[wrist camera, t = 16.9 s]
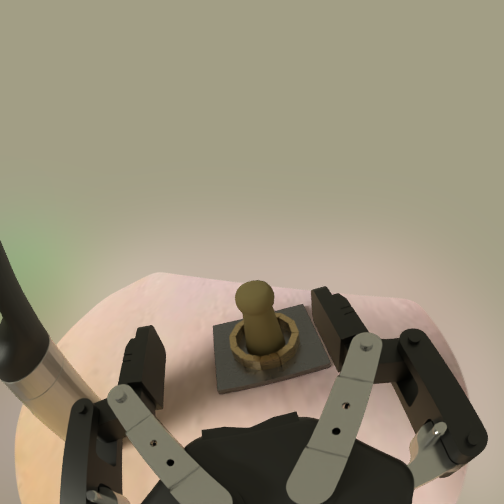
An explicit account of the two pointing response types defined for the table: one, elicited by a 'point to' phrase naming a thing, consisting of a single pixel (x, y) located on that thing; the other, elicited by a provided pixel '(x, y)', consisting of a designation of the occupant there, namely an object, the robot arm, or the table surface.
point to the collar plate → (273, 365)
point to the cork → (259, 318)
